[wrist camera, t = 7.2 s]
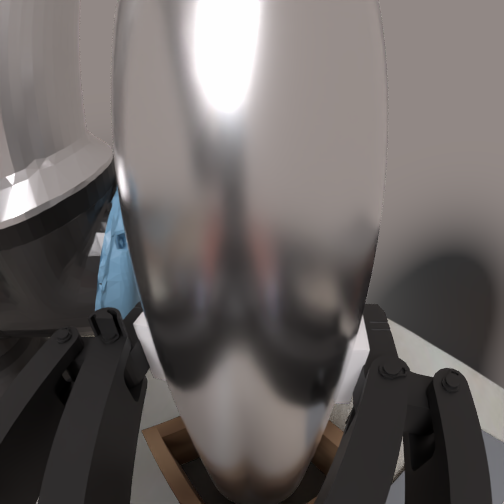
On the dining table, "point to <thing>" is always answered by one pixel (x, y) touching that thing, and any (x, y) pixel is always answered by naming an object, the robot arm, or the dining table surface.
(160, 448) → the square wooden frame
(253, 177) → the shiny metal cylinder
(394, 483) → the mat
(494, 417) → the dining table surface
